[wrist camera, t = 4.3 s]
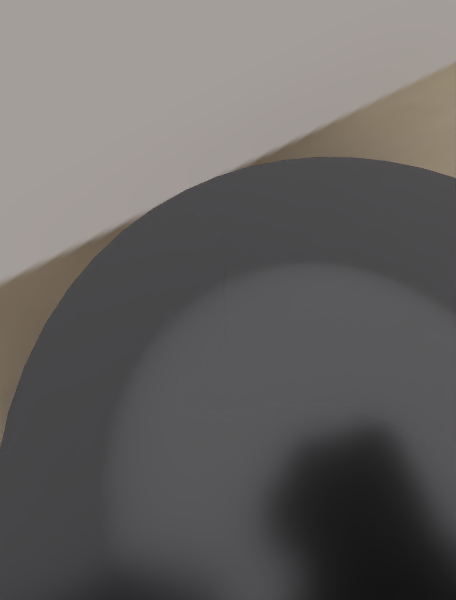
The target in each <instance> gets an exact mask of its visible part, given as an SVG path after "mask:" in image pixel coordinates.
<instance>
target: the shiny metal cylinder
mask: <svg viewBox="0 0 456 600" xmlns="http://www.w3.org/2000/svg"><path fill="white" fill-rule="evenodd" d="M0 600H456V178H454V177H450V176H447V175H443V174H440V173H437V172H433V171H430V170H427V169H423V168H419V167H414V166H409V165H404V164H399V163H394V162H389V161H381V160H371V159H362V158H352V157H314V158H303V159H292V160H282V161H277V162H272V163H266V164H261V165H256V166H251V167H247V168H244V169H241V170H237V171H234V172H231V173H228V174H224V175H221V176H218V177H215V178H213V179H211V180H208V181H206V182H204V183H201V184H199V185H197V186H194V187H192V188H190V189H187V190H185V191H183V192H181V193H180V194H178V195H176V196H174V197H173V198H171V199H169V200H167V201H166V202H164V203H162V204H160V205H159V206H157V207H155V208H153V209H152V210H151V211H149V212H148V213H147V214H145V215H144V216H143V217H141V218H140V219H138V220H137V221H136V222H134V223H133V224H132V225H130V226H129V227H128V228H126V229H125V230H124V231H122V232H121V233H120V234H119V235H118V236H117V237H116V238H115V239H114V240H113V241H112V242H111V243H110V244H109V245H108V246H106V247H105V248H104V249H103V250H102V251H101V252H100V253H99V254H98V255H97V256H96V257H95V258H94V259H93V260H92V261H91V263H90V264H89V265H88V266H87V267H86V269H85V270H84V271H83V272H82V273H81V274H80V276H79V277H78V278H77V279H76V280H75V282H74V283H73V284H72V285H71V286H70V288H69V289H68V290H67V292H66V294H65V295H64V297H63V298H62V300H61V301H60V303H59V304H58V306H57V307H56V309H55V310H54V312H53V313H52V315H51V316H50V318H49V320H48V321H47V323H46V324H45V326H44V328H43V330H42V332H41V334H40V336H39V338H38V340H37V342H36V344H35V346H34V348H33V350H32V352H31V354H30V356H29V358H28V360H27V363H26V365H25V367H24V370H23V373H22V375H21V378H20V381H19V384H18V387H17V390H16V392H15V395H14V398H13V401H12V404H11V407H10V410H9V412H8V417H7V421H6V426H5V430H4V435H3V439H2V444H1V449H0Z"/></svg>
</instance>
